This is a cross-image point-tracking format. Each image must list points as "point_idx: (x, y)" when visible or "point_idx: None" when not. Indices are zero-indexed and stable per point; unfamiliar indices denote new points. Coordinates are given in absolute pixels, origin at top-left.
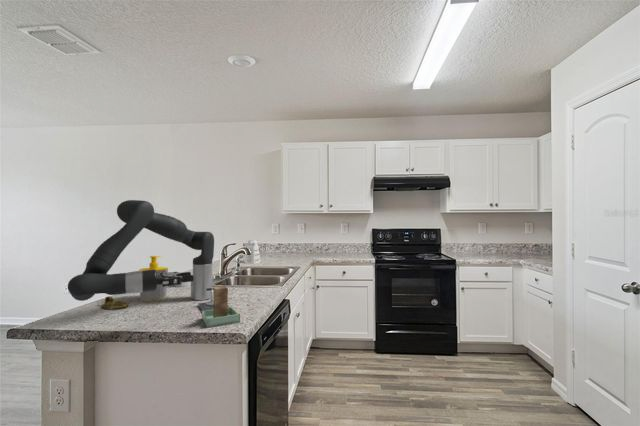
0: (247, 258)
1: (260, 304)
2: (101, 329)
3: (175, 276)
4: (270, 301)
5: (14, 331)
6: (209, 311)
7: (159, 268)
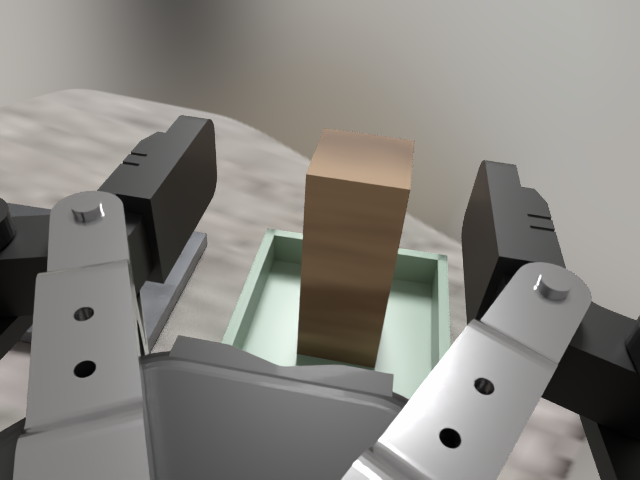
0: None
1: (220, 145)
2: None
3: (539, 357)
4: (213, 115)
5: None
6: (238, 335)
7: None
